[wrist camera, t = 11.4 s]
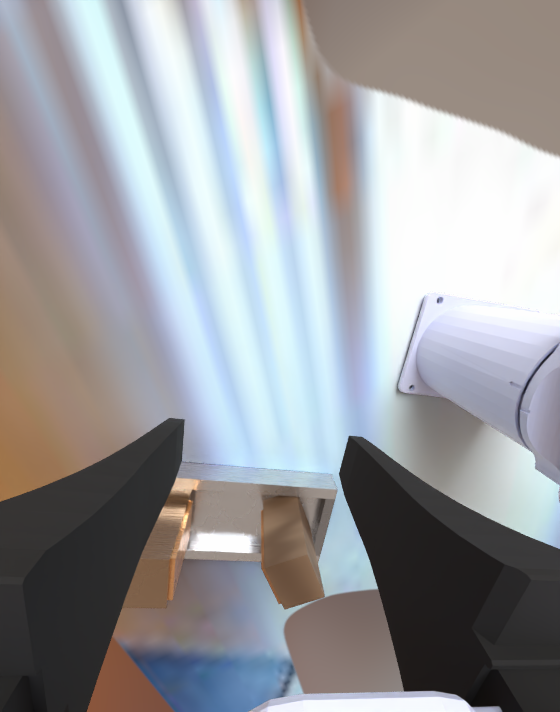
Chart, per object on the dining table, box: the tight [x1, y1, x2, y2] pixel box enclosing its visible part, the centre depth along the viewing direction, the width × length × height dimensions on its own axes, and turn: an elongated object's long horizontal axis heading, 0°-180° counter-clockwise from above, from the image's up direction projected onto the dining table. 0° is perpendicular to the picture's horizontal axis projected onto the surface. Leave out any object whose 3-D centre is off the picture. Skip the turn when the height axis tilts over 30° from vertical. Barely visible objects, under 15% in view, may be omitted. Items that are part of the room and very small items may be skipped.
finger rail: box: [122, 462, 338, 608], centre depth 21 cm, size 15×8×6 cm, turn 81°
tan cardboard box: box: [261, 495, 325, 609], centre depth 20 cm, size 3×4×6 cm
